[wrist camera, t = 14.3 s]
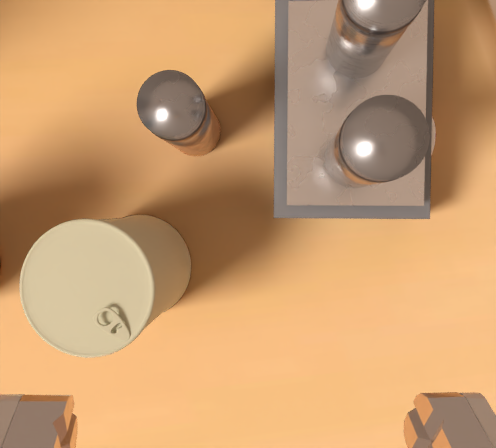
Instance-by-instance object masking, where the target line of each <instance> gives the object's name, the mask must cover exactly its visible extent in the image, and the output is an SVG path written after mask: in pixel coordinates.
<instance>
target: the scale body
mask: <svg viewBox="0 0 496 448" xmlns="http://www.w3.org/2000/svg"><path fill="white" fill-rule="evenodd" d="M288 1H312V0H275V121H274V218H369V219H430V189H431V155H432V153H433V150H434V146H435V138H436V129H435V122H434V119H433V118H432V88H433V38H434V0H428V24H427V76H426V120H427V123H428V127H429V133H430V140H429V146H428V150H427V153H426V155H425V180H424V206H348V205H287V110H288Z"/></svg>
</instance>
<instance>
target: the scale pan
mask: <svg viewBox="0 0 496 448" xmlns="http://www.w3.org/2000/svg"><path fill="white" fill-rule="evenodd" d="M337 4H338V0H312V1H288V110H287V205H348V206H424V180H425V157H424V159H423V160H422V162H421V163H420V164H419V165H418V166H417V167H416V168H415V169H414V170H413V171H412V172H410V173H409V174H407V175H405V176H403V177H400V178H398V179H396V180H393V181H389V182H384V183H377V184H373V185H369V186H365V187H361V188H348V187H345V186H342V185H340V184H338V183H337V182H336V181H334V180H333V179H332V177H331V176H330V175H329V173H328V171H327V168H326V165H325V153H326V149H327V146H328V144H329V143H330V141H331V140H332V138H333V137H334V136H335V134H336V133H337V132H338V130H339V129H340V128H341V126H342V124H343V122H344V121H345V119H346V118H347V117H348V115H349V114H350V113H351V112H352V111H353V110H354V109H355V108H356V107H357V106H358V105H359V104H361V103H362V102H364V101H365V100H367V99H369V98H372V97H374V96H379V95H396V96H400V97H403V98H405V99H407V100H409V101H411V102H412V103H414V104H415V105H416V106H417V107H418V108H419V109H420V110H421V112H422V113H423V115H424V116H425V118H426V76H427V24H428V0H426V2H425V3H424V5H423V7H422V9H421V11H420V12H419V14H418V15H417V17H416V18H415V19H414V21H413V22H412V23H411V24H410V25H409V26H408V28H407V29H406V31H405V32H404V34H403V35H402V36H401V38H400V39H399V41H398V42H397V44H396V45H395V47H394V48H393V49H392V51H391V52H390V54H389V55H388V57H387V58H386V59H385V61H384V62H383V64H382V65H381V66H380V68H379V69H378V70H377V71H375V72H374V73H373V74H371V75H369V76H366V77H363V78H349V77H345V76H343V75H341V74H340V73H338V72H337V71H336V70H335V69H334V68H333V67H332V66H331V64H330V62H329V60H328V57H327V51H326V47H327V41H328V37H329V33H330V30H331V26H332V22H333V19H334V15H335V11H336V8H337Z"/></svg>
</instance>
